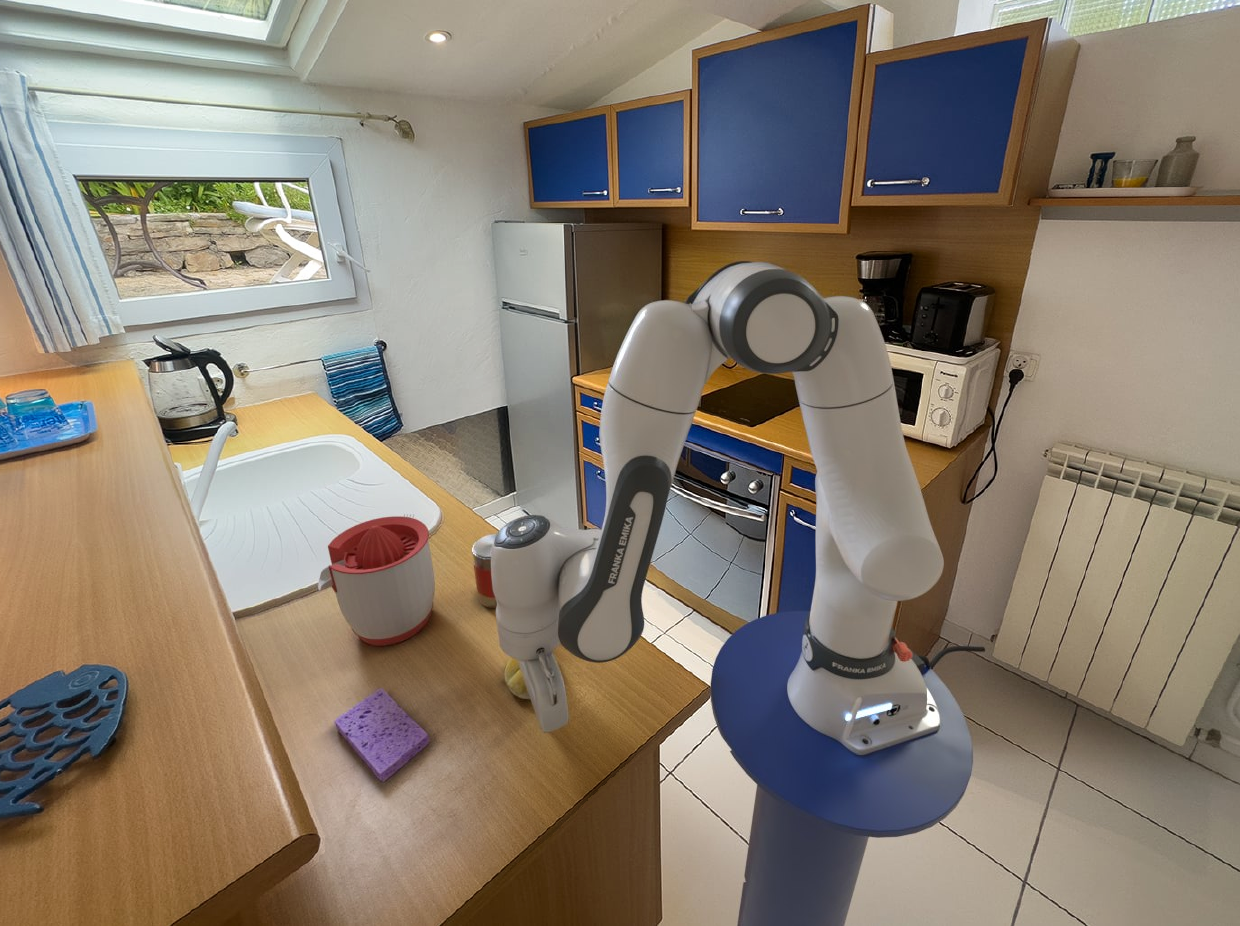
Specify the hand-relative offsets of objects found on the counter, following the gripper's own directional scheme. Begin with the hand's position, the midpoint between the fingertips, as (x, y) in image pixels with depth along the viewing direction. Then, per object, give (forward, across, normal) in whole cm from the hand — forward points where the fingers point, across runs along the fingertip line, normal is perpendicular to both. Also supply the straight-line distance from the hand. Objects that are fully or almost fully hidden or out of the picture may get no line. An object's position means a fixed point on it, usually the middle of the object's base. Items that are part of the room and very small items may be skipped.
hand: (537, 698), depth 79 cm
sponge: (+2, +5, +21) cm, 21 cm away
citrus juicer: (+2, +28, +19) cm, 33 cm away
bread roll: (+2, +6, -1) cm, 6 cm away
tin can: (+2, +27, 0) cm, 27 cm away
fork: (+2, +54, +17) cm, 56 cm away
